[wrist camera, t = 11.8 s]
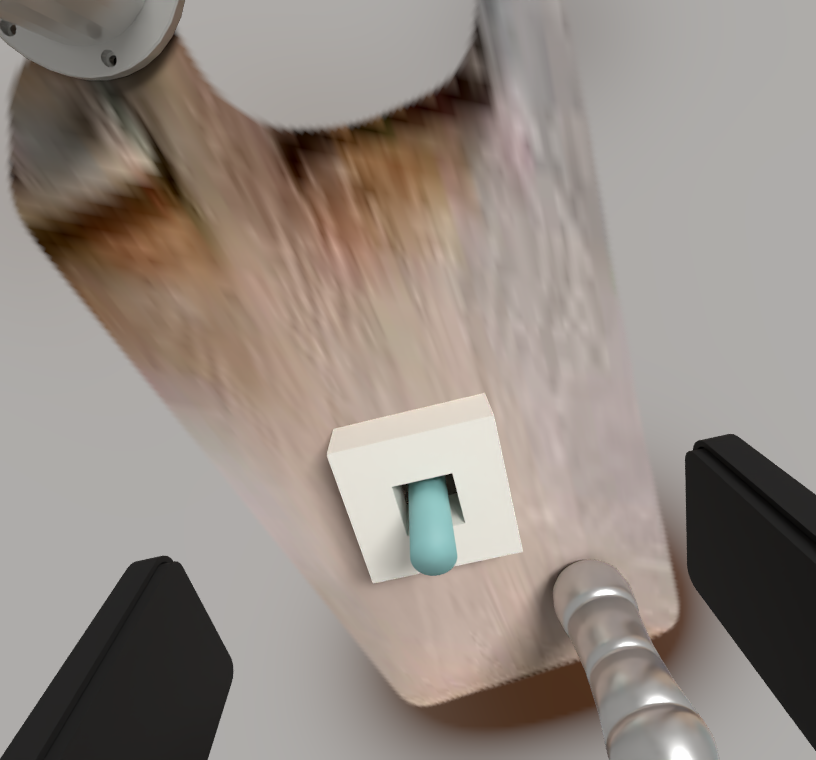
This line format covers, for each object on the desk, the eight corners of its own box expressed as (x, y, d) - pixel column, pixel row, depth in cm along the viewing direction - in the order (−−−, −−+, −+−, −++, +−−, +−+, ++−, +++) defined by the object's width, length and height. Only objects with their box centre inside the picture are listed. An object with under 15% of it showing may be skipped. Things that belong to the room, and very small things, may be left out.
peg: (403, 464, 40) (404, 543, 31) (440, 456, 40) (451, 533, 31) (412, 494, 41) (416, 579, 32) (448, 487, 41) (461, 570, 32)
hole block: (333, 428, 39) (326, 454, 35) (484, 392, 38) (493, 415, 34) (375, 549, 43) (372, 583, 39) (512, 519, 42) (522, 551, 38)
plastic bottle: (634, 568, 44) (806, 848, 25) (585, 617, 46) (710, 910, 27) (579, 537, 43) (717, 807, 24) (530, 588, 45) (623, 875, 26)
